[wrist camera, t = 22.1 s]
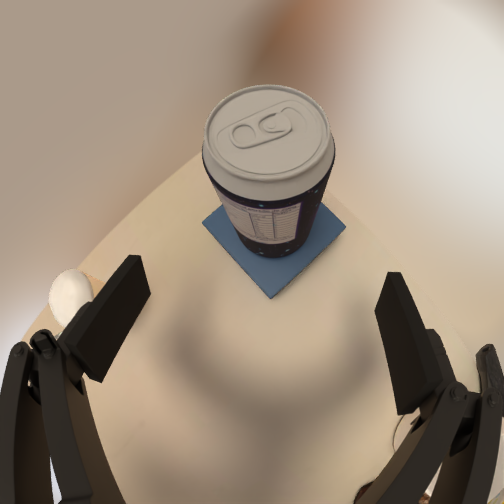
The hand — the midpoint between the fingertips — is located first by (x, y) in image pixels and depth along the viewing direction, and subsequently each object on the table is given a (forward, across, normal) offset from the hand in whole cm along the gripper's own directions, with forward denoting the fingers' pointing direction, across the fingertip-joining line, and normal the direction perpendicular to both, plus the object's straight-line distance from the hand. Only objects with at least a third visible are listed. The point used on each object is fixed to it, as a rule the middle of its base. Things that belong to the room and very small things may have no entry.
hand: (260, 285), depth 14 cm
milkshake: (+5, -14, -9) cm, 17 cm away
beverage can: (+8, 0, -1) cm, 8 cm away
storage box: (+11, 0, -3) cm, 11 cm away
